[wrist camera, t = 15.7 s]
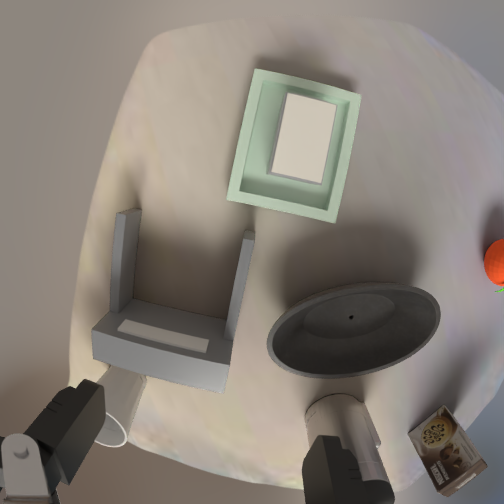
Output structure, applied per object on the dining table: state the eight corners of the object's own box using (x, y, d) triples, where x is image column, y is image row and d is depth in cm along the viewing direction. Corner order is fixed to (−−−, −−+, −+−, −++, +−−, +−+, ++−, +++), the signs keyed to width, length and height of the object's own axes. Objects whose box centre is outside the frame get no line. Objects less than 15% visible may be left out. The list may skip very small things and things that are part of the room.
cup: (111, 392, 43) (83, 440, 32) (100, 352, 42) (64, 398, 30) (155, 398, 43) (133, 451, 32) (146, 358, 41) (117, 410, 30)
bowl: (260, 278, 38) (261, 298, 32) (421, 259, 37) (445, 273, 31) (269, 360, 41) (271, 387, 35) (415, 337, 40) (433, 358, 34)
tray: (355, 99, 33) (361, 95, 30) (330, 220, 36) (335, 223, 34) (254, 74, 32) (254, 68, 30) (228, 198, 36) (226, 199, 33)
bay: (255, 232, 37) (254, 252, 27) (230, 347, 40) (223, 393, 31) (133, 208, 36) (94, 219, 26) (123, 321, 40) (93, 358, 30)
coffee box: (419, 443, 46) (446, 498, 31) (406, 433, 45) (435, 493, 30) (454, 414, 45) (489, 467, 29) (444, 403, 44) (482, 459, 28)
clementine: (489, 290, 38) (515, 306, 31) (466, 274, 38) (494, 289, 31) (509, 246, 36) (537, 257, 29) (487, 226, 36) (517, 236, 29)
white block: (323, 113, 32) (339, 98, 25) (309, 183, 34) (322, 185, 27) (281, 103, 32) (287, 84, 25) (266, 174, 34) (268, 173, 27)
